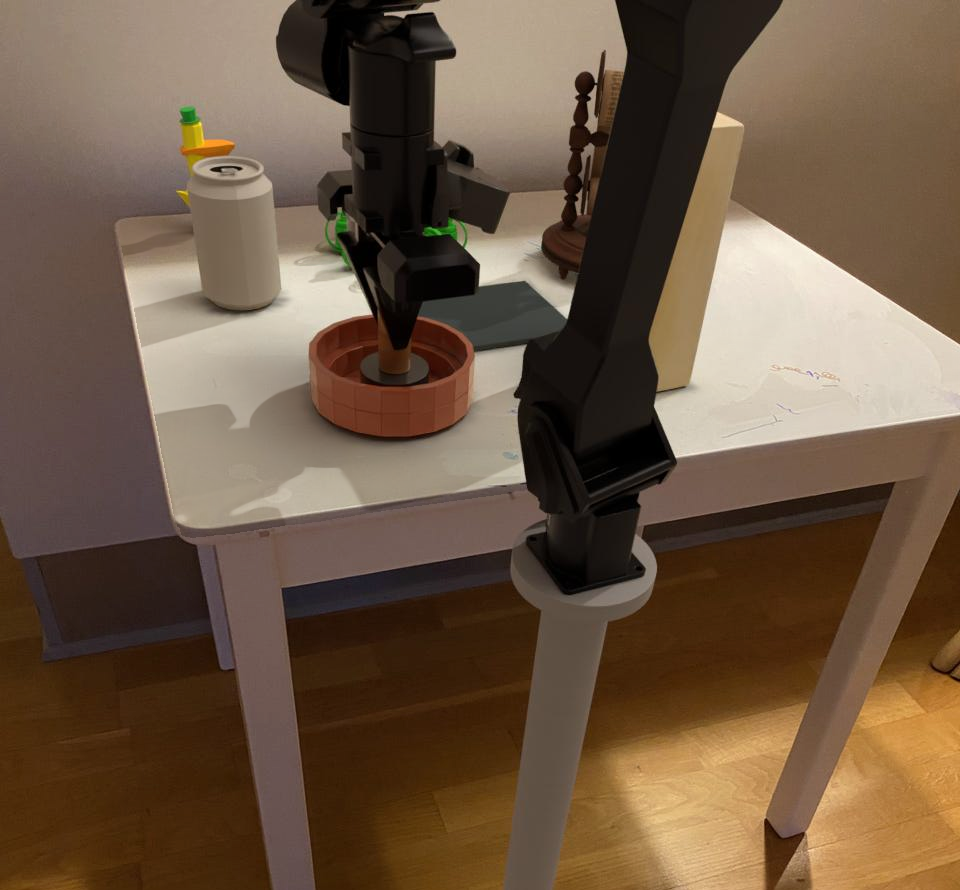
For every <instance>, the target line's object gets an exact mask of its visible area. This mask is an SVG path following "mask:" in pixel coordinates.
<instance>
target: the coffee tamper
mask: <svg viewBox="0 0 960 890" xmlns="http://www.w3.org/2000/svg"><path fill="white" fill-rule="evenodd" d="M360 383H361V384H368V385H374V386H380V387H410V386H416V385H422V384H429V365H428V363H427V362H426V361H425V360H424V359H423V358H422V357H420V356H418V355H416V354H413V353H411V338H410V341H409V344H408V347H407V348H406V349H402V350H394V349H393V347H392V345H391V343H390V340H389V337H388V335H387V332H386V330H385V327H384V324H383V321H382V319H381V316H380V313H379V311H378V352H376V353H373V354H371V355H369V356H367V357H366V358H364V359H363V360H362V362H361V364H360Z"/></svg>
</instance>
